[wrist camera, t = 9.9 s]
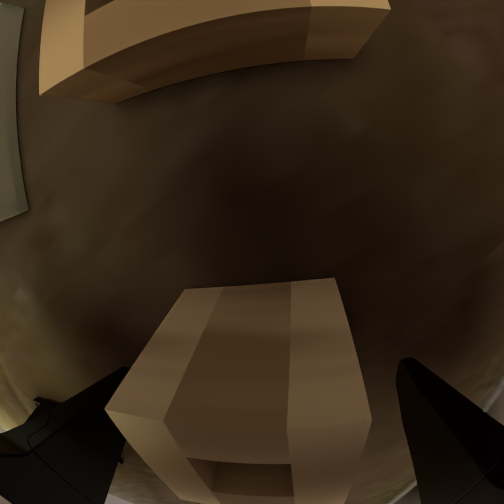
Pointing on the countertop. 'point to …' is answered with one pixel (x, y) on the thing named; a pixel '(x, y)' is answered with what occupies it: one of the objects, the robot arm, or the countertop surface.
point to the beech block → (249, 396)
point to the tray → (10, 115)
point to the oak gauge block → (188, 40)
